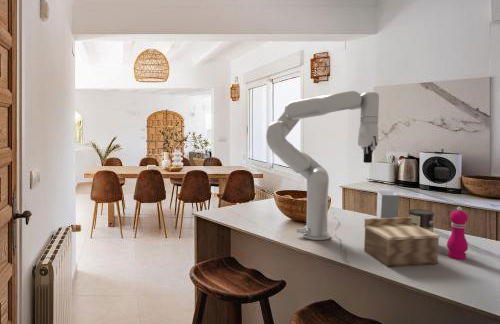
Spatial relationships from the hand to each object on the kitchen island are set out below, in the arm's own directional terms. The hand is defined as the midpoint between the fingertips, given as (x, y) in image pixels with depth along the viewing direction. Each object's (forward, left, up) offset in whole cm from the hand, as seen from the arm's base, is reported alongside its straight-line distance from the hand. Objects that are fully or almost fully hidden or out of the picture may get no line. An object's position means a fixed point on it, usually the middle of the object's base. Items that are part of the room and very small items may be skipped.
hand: (367, 162), depth 167 cm
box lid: (+2, -24, -25) cm, 35 cm away
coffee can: (+22, -8, -35) cm, 42 cm away
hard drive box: (+15, +8, -35) cm, 39 cm away
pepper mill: (+25, -27, -35) cm, 51 cm away
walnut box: (+2, -24, -35) cm, 43 cm away
